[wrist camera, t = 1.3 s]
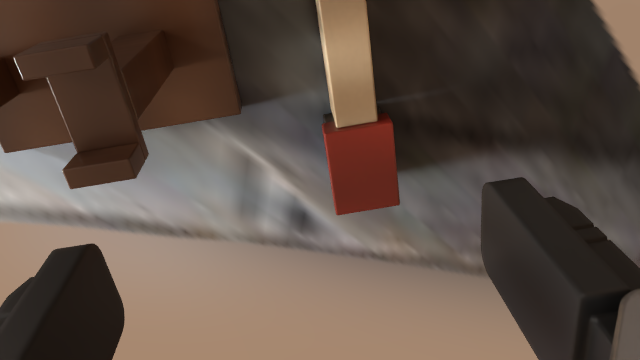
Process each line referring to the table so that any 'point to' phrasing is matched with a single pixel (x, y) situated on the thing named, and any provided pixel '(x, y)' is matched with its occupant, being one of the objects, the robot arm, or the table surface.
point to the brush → (355, 113)
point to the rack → (109, 77)
